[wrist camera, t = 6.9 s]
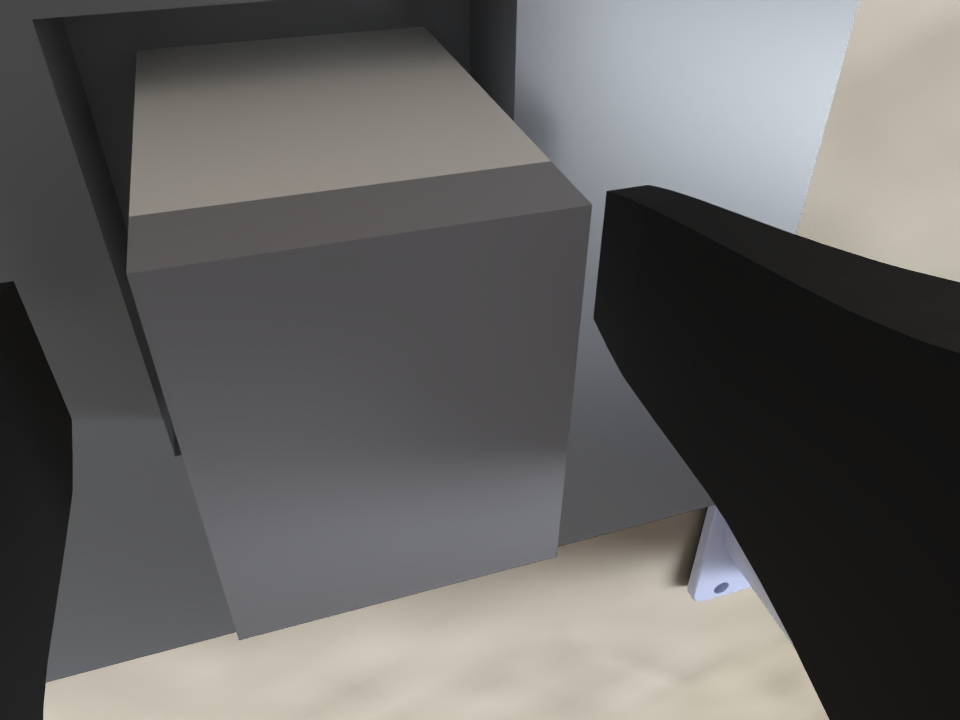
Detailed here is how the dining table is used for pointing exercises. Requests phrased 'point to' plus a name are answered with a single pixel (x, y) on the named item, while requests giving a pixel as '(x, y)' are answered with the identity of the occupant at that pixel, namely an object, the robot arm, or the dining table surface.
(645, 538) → the dining table surface
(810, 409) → the robot arm
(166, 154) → the grey rectangular block
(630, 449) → the socket plate
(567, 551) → the dining table surface
